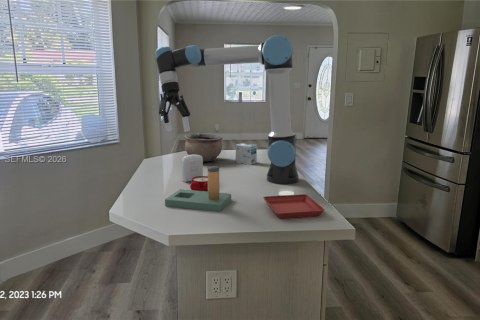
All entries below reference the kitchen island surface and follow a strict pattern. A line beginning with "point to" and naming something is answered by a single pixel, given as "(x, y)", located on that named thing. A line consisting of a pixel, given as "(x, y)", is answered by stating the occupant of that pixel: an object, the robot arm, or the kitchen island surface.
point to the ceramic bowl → (204, 145)
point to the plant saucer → (293, 206)
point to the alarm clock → (199, 183)
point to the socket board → (197, 200)
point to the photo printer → (191, 167)
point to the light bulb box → (246, 153)
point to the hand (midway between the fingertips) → (178, 131)
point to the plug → (213, 182)
